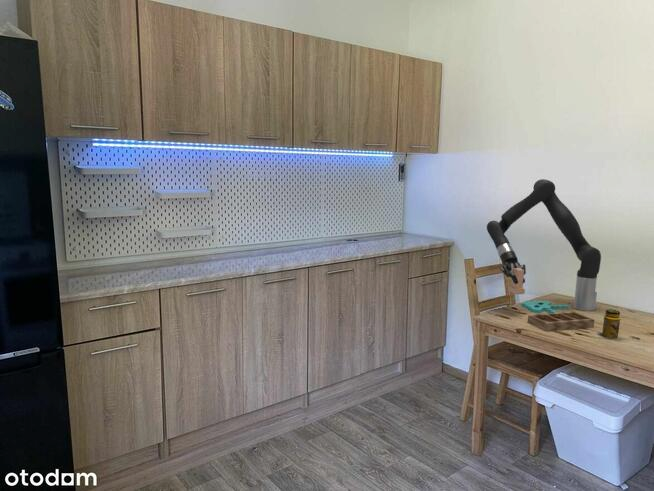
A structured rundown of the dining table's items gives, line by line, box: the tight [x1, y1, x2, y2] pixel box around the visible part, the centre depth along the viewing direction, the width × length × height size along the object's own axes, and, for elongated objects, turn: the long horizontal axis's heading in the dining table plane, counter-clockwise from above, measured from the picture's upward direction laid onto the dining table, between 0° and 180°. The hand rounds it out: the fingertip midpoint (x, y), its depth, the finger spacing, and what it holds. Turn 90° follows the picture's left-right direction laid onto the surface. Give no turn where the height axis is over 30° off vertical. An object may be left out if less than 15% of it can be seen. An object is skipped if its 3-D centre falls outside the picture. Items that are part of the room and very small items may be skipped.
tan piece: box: [508, 268, 526, 295], centre depth 238 cm, size 6×4×12 cm
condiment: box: [596, 308, 621, 341], centre depth 210 cm, size 7×8×12 cm
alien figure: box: [521, 300, 570, 314], centre depth 251 cm, size 20×2×20 cm
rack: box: [527, 311, 595, 332], centre depth 226 cm, size 26×13×4 cm, turn 105°
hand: (520, 282), depth 236 cm, fingers closed on tan piece, 3 cm apart
